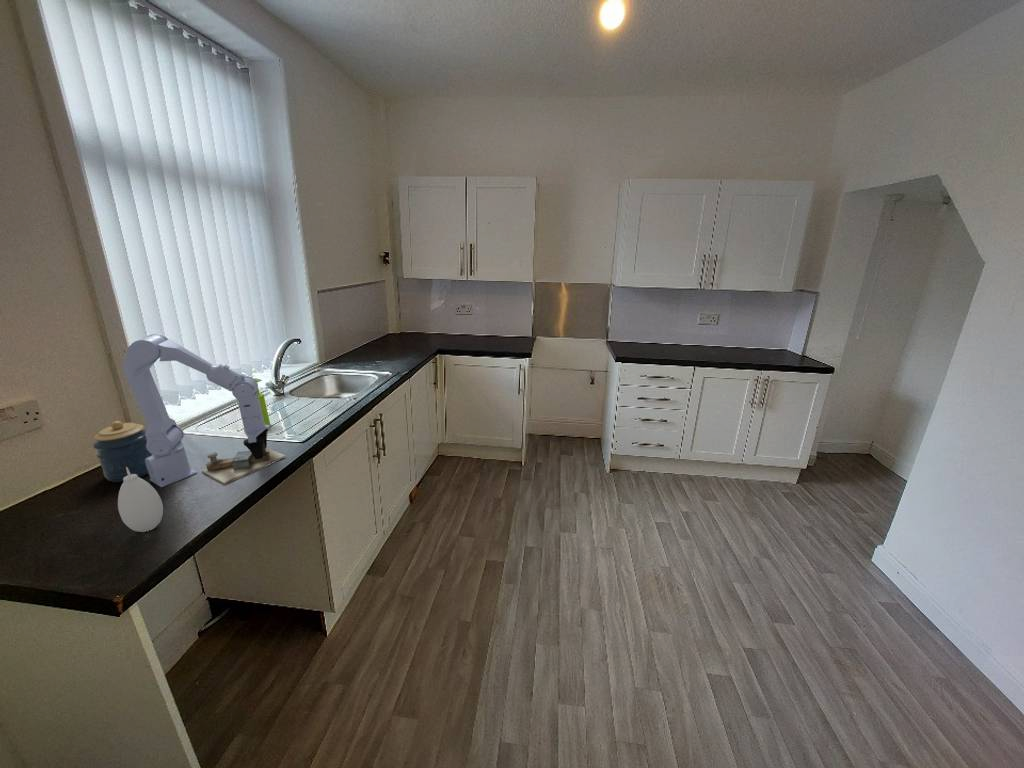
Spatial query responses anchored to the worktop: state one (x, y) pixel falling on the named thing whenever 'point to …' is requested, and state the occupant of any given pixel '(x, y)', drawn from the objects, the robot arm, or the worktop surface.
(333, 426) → the worktop surface
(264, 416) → the soap dispenser
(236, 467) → the keeper
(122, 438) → the canister
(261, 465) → the latch board
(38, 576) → the worktop surface
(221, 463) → the link
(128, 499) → the air blower bulb
